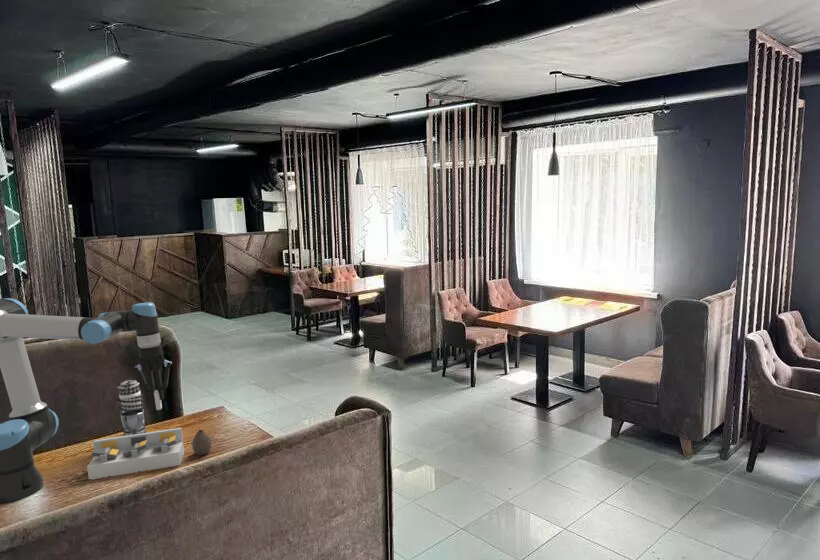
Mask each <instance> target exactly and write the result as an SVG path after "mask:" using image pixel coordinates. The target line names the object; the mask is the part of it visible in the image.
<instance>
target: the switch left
mask: <svg viewBox="0 0 820 560" xmlns="http://www.w3.org/2000/svg"><path fill="white" fill-rule="evenodd" d="M119 452H120V450H118V449H110V448H109V447H107V448H101V447H96V448H95V449H94V448H93V450H92V452H91V456H92V457H94V456H98V457H100V455H105V454H107V458H113V459H116V458H117V456H118V454H119Z"/></svg>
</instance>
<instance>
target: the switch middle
mask: <svg viewBox="0 0 820 560" xmlns="http://www.w3.org/2000/svg"><path fill="white" fill-rule="evenodd" d="M148 444H149V441H148V440H145V441H142V442H140V443H136V444H135V445H133V446H131V447H129V448H126V449H125V451H124V453H123V456H124V457H125V456H128V455H130V454H131V450H138V451H140V450H142V449H145V448H147V446H148Z"/></svg>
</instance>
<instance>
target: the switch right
mask: <svg viewBox="0 0 820 560" xmlns="http://www.w3.org/2000/svg"><path fill="white" fill-rule="evenodd" d="M177 440H178V437H177V435H175V436H173V437H170V438H169V439H167V438H166V439H165V440H164V441H161V442H159V443H156V444H155V446H154V448H153V451H154V452H156V451H159V450H161V446H163V445H167V447H168V446H171V445H173V444H176V443H177Z"/></svg>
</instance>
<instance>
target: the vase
mask: <svg viewBox="0 0 820 560" xmlns="http://www.w3.org/2000/svg"><path fill="white" fill-rule="evenodd" d="M212 443H213V442H212V439H211V437H210V436H209V434H208V433H206V432H205V430H204V429H199V430H197V431H196V434H195V435H194V436H193V438H192V441H191V446H192V447H191V448H192V451H193V452H194V453H195V454H196V455H197V456H203V455H208V453H209V452H210V451H211V449H212Z"/></svg>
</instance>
